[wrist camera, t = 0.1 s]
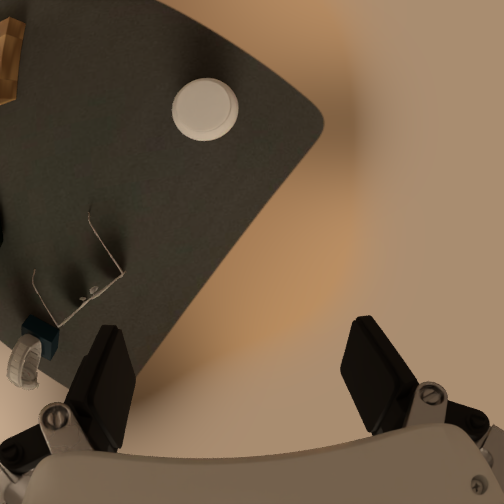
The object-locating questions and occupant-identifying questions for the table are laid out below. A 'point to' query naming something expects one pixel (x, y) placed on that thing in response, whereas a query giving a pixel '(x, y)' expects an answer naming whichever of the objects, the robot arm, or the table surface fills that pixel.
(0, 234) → the dark green landmine
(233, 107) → the pill bottle
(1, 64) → the socket
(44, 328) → the watch
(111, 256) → the sunglasses
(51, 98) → the table surface
